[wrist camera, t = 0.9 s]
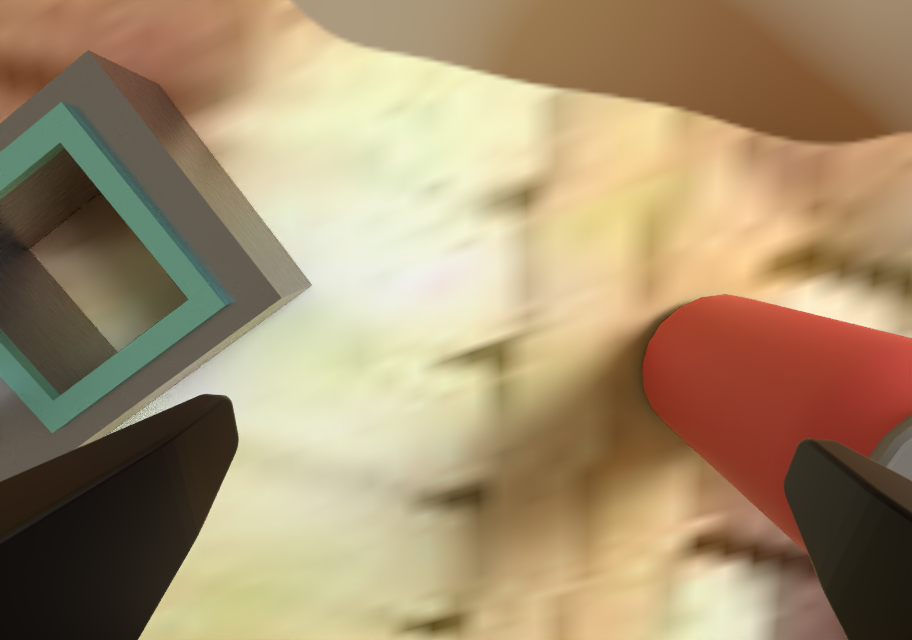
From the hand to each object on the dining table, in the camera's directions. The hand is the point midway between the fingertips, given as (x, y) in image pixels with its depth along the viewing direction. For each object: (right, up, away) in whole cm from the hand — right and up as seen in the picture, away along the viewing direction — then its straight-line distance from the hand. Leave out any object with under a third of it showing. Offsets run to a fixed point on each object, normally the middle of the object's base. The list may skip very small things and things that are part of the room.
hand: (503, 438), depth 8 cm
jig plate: (-19, +1, +14) cm, 24 cm away
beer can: (+11, 0, +15) cm, 18 cm away
